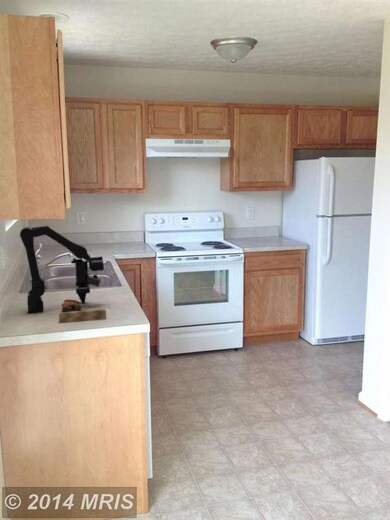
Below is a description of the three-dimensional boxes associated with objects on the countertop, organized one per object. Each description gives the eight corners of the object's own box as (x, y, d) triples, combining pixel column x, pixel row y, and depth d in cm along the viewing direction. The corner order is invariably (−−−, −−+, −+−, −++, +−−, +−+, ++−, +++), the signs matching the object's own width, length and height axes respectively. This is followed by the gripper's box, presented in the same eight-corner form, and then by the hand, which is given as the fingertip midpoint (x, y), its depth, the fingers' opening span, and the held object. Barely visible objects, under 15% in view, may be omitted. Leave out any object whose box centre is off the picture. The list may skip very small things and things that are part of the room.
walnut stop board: (59, 322, 204) (58, 313, 203) (59, 321, 206) (58, 312, 205) (106, 318, 209) (105, 310, 208) (105, 317, 211) (105, 308, 210)
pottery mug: (54, 316, 214) (58, 299, 217) (72, 321, 220) (76, 304, 223) (69, 315, 206) (73, 297, 209) (87, 320, 212) (90, 302, 215)
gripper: (100, 274, 217) (101, 307, 220) (97, 267, 235) (99, 297, 238) (75, 276, 214) (77, 309, 217) (74, 268, 232) (76, 299, 235)
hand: (83, 303), depth 227 cm, fingers closed
